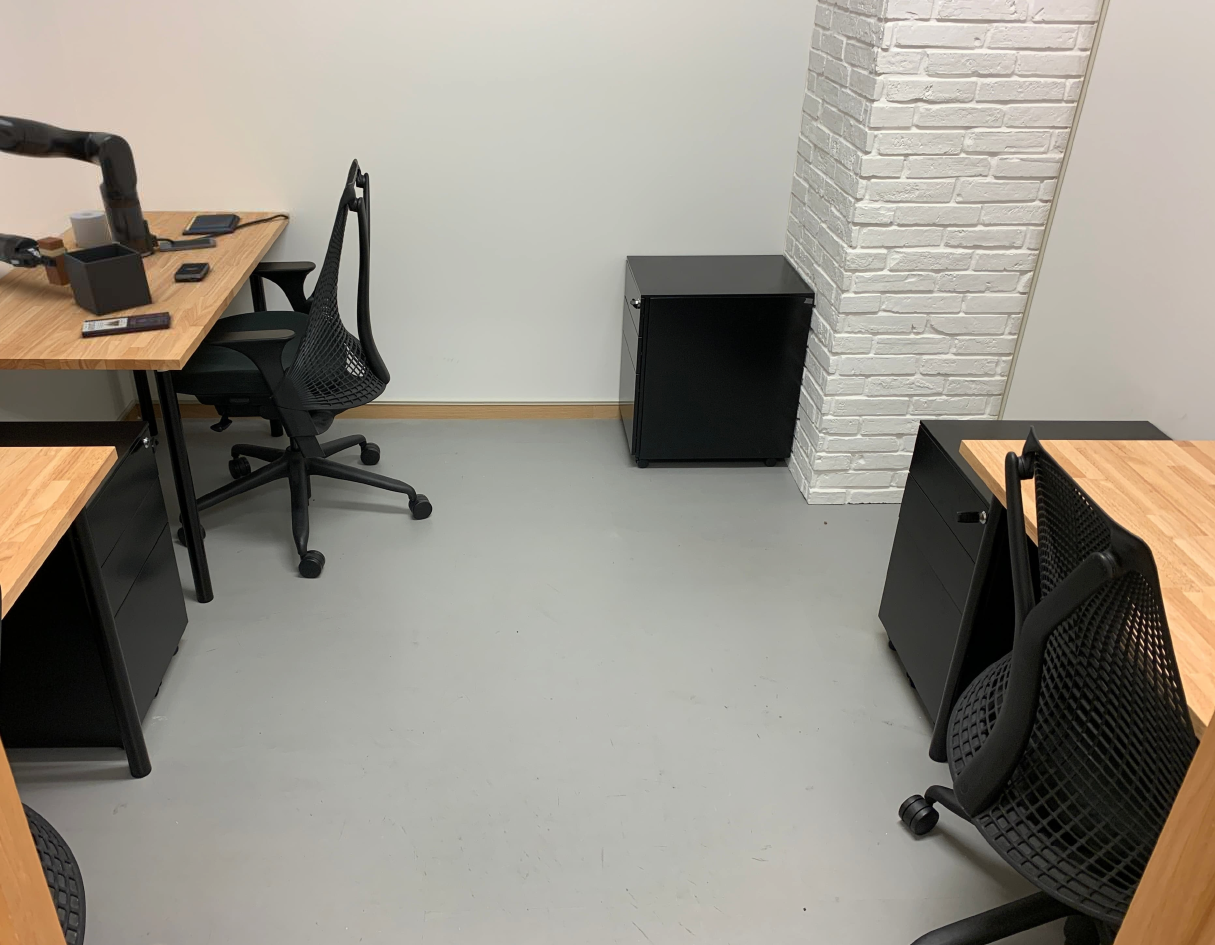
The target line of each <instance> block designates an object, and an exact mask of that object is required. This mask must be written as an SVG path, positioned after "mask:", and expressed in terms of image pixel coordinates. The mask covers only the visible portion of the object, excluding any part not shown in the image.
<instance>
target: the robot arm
mask: <svg viewBox="0 0 1215 945" xmlns="http://www.w3.org/2000/svg"><path fill="white" fill-rule="evenodd" d="M0 152H1V153H3V154H8V155H11V156H12V155H14V156H19V157H25V158H35V159H61V158H62V159H71V160H74V161H75V160H76V161H81V162H85V163H88V164H92V165H95V166H98V167H100V170H101V175H102V182H101V183H100V184H99V185H98V188H99V192H100V196H101V200H102V204H103V208H104V211H105V212H104V213H105V215H106V219H107V223H108V227H109V231H110V235H111V239H112V243H111V244H113V243H119V244H121V245H123V246H126V247H128V248H130V249H133V250H135V251H137V252H140V253H141V256H142V258H145V257H148V256H150V255H153V254H155V249H154V248H157V247H160V244H159V242H171V243H175V242H177V241H178V240H173V239H171V238H167V237H158V236H157V235H156V234H153V233H151V231H150V227H149V222H148V220H147V219H145V218H144V214H143V209H142V205H141V201H140V197H139V192H138V174H137V168H136V164H135V157H134V154H133V150H132V148H131V145H130V143H129V142H128V141H127V140H126V139H125V138H124V137H123V136H121V135H118V134H114V133H110V132H107V131H87V130H73V129H66V128H62V127H59V126H56V125H52V124H51V123H46V122H42V121H38V120H33V119H29V118H22V117H17V116H10V115H9V116H8V115H2V114H0ZM277 218H285V219H287V220H289V219H290V216H288V215H287V214H284V213H281V214H280V213H279V214H276V215H273V216H271V217H266V218H262V219H255V220H253V221H248V222H245V223H242V224H237V225H236V227H233V229H234V231H235V230H238V229H240V228H241V229H242V228H243V227H246V226H247V227H248V226H251V225H255V224H258V223H259V224H260V223H264V222H269V221H272V220H274V219H277ZM224 233H226V230H224V231H222V232H219V233H215V234H208V235H204V236H201V237H197V238H192V240H194V239H201V238H215V237H218V236H221V235H225V234H224ZM64 247H65V250H66V252H69V250H68V248H67V247H66V246H65V245H64ZM0 262H3V263H5V264H8V265H12V267H13V268H25V269H36V268H37V267H45V265H46V266H51V267H56V266H57V263H56V260H55V258H53V257H48V256H43V255H41V254H40V250H39V246H38V243H37V239H35V238H32V237H27V236H22V235H17V234H12V233H11V234H9V233H7V234H6V233H3V232H0Z"/></svg>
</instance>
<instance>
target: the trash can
mask: <svg viewBox="0 0 1215 945" xmlns="http://www.w3.org/2000/svg"><path fill="white" fill-rule="evenodd" d="M62 256H63V260H64V264H65V267H66V271H67V274H68V278H69V281H70V284H69V286H70V289H71V291H72V292H71V293H72V295H73V298H74V303H75V304H76V305H78V306H79V307H81V308H83V309H85V310H87V311H88V312H90V313H92V314H94V315H95V316H98V317H101V316H104V315H107V314H108V315H109V314H112V313H117V312H121V311H125V310H130V309H134V308H138V307H142V306H146V305H151V304H154V303H153V298H152V294H151V290H150V286H149V282H148V277H147V273H146V270H145V264H144V261H143V257H142V256H141V253H140V252H137V251H135V250H133V249H130V248H128V247H126V246H123V245H121V244H119V243H113V244H112V243H111V244H108V245H102V246H97V247H92V248H83V249H76V250H71V251H68V252H66V253H62Z"/></svg>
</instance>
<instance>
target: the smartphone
mask: <svg viewBox="0 0 1215 945" xmlns="http://www.w3.org/2000/svg"><path fill="white" fill-rule="evenodd" d="M192 239H194V240H192ZM192 239H191V238H190V239H180V240H179V239H178V240H176V241H177V242H175V243H171V242H168V241H159V249H160V252H172V251H181V250H192V249H193V250H194V249H203V248H213V247H216V243H215V237H212V238H201V239H196V238H192Z"/></svg>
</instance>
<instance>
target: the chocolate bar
mask: <svg viewBox="0 0 1215 945" xmlns="http://www.w3.org/2000/svg"><path fill="white" fill-rule="evenodd" d="M162 329H163V330H164V329H170V311H162V312H153V313H144V314H143V313H142V314H134V315H126V316H125V315H124V316H116V317H115V316H114V317H105V318H97V319H89V320H88V319H87V320H84V322H83V327H82V330H81V336H82V338H83V339H84V338H92V337H99V336H100V337H101V336H108V335H109V336H110V335H117V334H118V335H119V334H127V333H136V332H144V331H145V332H146V331H152V330H153V331H154V330H162Z"/></svg>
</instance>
